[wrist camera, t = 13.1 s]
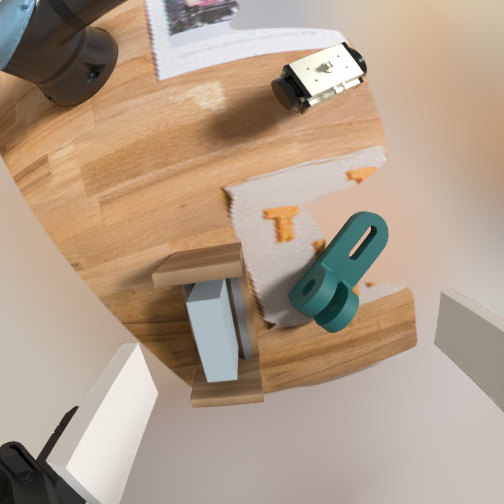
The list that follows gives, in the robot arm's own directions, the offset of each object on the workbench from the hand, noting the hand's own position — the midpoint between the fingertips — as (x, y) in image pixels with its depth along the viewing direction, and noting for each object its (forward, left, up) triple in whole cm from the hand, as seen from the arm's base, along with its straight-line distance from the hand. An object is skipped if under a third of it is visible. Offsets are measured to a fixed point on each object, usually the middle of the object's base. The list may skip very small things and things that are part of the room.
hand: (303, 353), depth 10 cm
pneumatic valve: (-19, +10, -31) cm, 38 cm away
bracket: (+6, +12, -31) cm, 34 cm away
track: (+11, -8, -31) cm, 34 cm away
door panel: (+11, -8, -30) cm, 33 cm away
